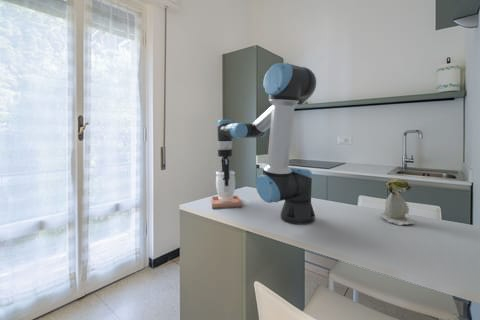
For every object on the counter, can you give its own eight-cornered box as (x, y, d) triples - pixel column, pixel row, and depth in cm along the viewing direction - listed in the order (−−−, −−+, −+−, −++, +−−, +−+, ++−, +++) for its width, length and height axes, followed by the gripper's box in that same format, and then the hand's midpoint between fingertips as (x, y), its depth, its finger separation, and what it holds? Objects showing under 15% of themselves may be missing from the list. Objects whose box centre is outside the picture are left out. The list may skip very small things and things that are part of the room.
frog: (384, 224, 105) (386, 181, 103) (377, 214, 117) (379, 176, 115) (417, 227, 101) (420, 183, 99) (406, 216, 113) (409, 177, 111)
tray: (241, 206, 131) (241, 202, 131) (212, 208, 129) (212, 203, 128) (238, 199, 145) (238, 195, 145) (211, 200, 143) (211, 196, 143)
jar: (213, 200, 133) (212, 173, 131) (220, 195, 143) (219, 170, 141) (231, 202, 130) (231, 173, 128) (237, 197, 140) (237, 170, 138)
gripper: (234, 150, 123) (235, 194, 125) (229, 147, 145) (230, 184, 148) (219, 150, 122) (220, 194, 124) (216, 147, 144) (217, 185, 147)
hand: (225, 189), depth 136 cm, fingers closed on jar, 10 cm apart
